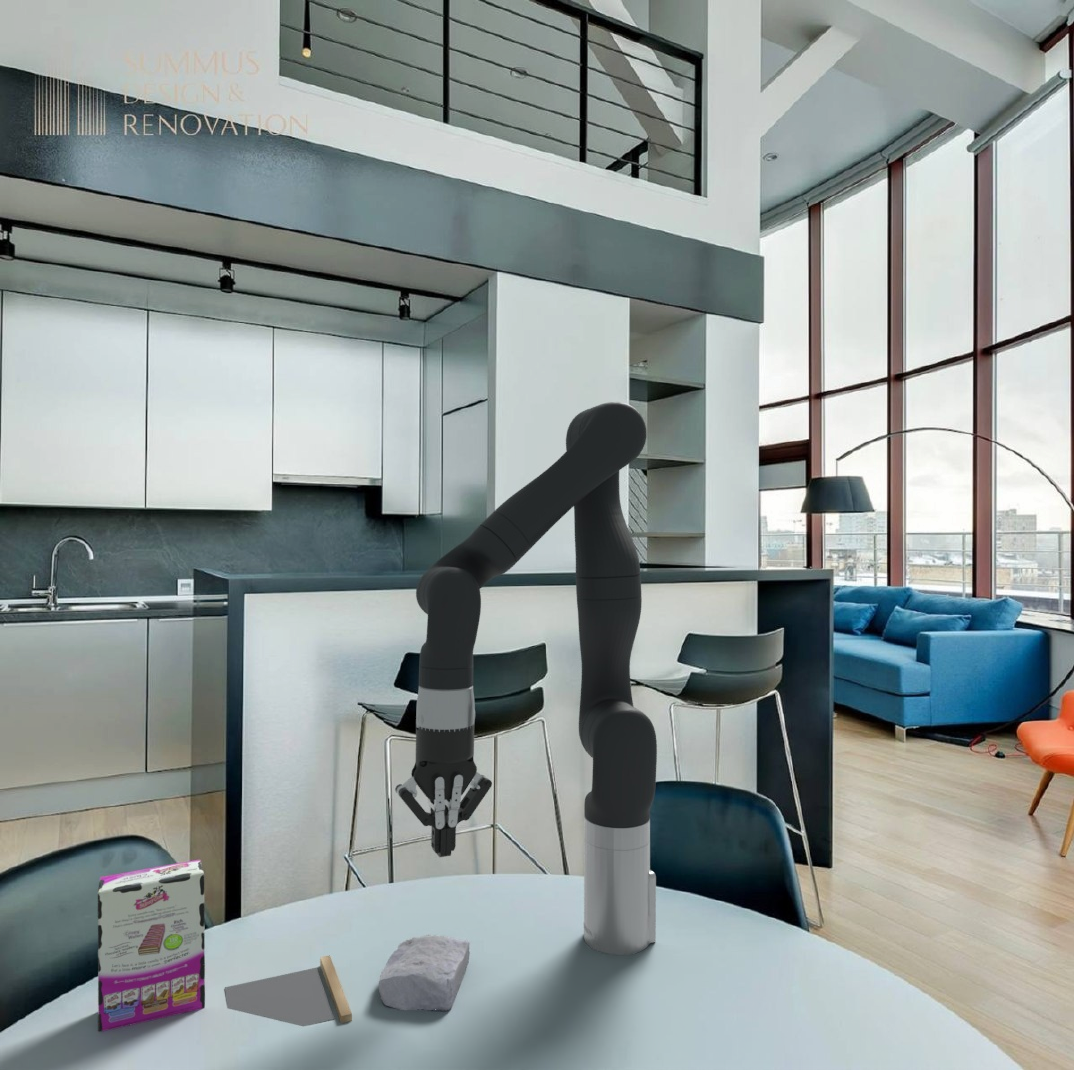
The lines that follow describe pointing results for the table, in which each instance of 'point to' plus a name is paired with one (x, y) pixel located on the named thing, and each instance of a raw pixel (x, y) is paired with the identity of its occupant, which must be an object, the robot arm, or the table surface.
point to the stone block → (424, 973)
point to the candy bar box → (150, 944)
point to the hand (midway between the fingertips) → (442, 854)
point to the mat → (283, 998)
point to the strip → (335, 989)
